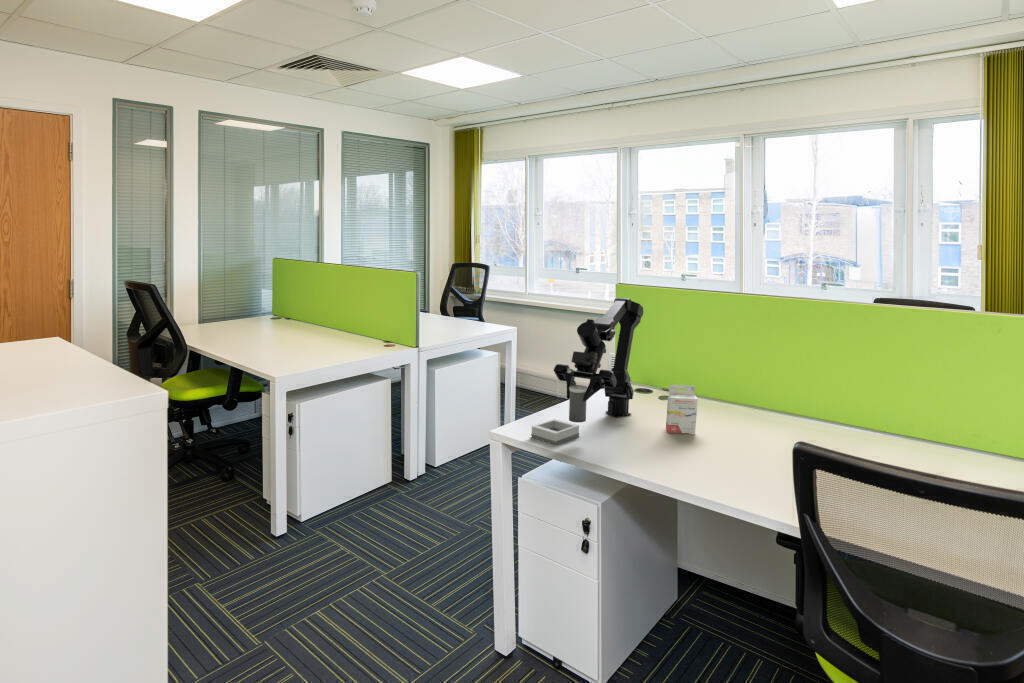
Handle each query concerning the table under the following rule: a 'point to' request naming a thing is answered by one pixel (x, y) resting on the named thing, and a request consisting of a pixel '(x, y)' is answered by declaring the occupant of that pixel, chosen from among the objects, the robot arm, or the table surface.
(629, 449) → the table surface
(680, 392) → the ink cartridge box
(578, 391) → the gray cylindrical canister
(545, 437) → the white open box
